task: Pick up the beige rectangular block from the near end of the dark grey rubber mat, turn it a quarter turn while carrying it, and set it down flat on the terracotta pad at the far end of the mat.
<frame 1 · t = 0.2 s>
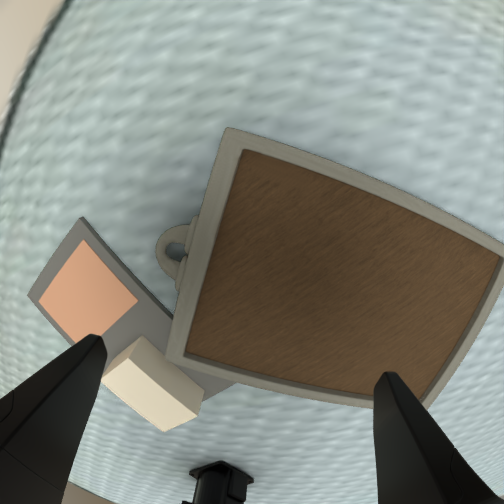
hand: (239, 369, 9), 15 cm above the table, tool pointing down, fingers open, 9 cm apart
mat: (122, 336, 27), on the table
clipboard: (342, 298, 24), on the table, touching mat
beige rectangular block: (157, 375, 27), point 1 cm above the table, touching mat
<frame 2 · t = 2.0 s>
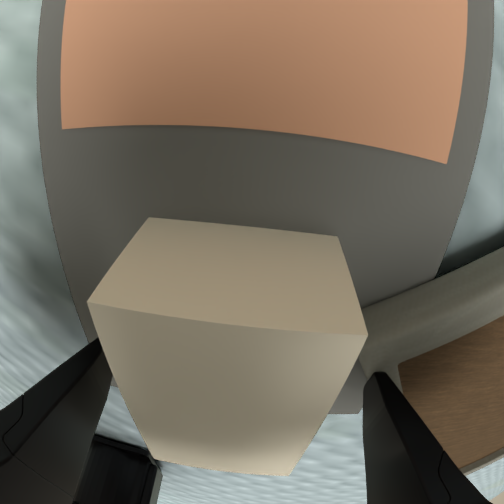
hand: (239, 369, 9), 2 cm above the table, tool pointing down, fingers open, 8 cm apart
mat: (246, 181, 8), on the table
beige rectangular block: (234, 334, 10), point 1 cm above the table, touching mat
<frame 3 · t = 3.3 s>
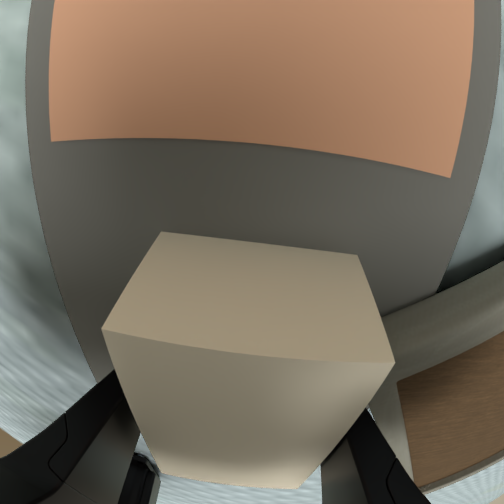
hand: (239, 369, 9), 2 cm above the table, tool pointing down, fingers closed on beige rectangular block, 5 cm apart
mat: (241, 195, 8), on the table
beige rectangular block: (245, 350, 10), point 1 cm above the table, touching gripper, mat
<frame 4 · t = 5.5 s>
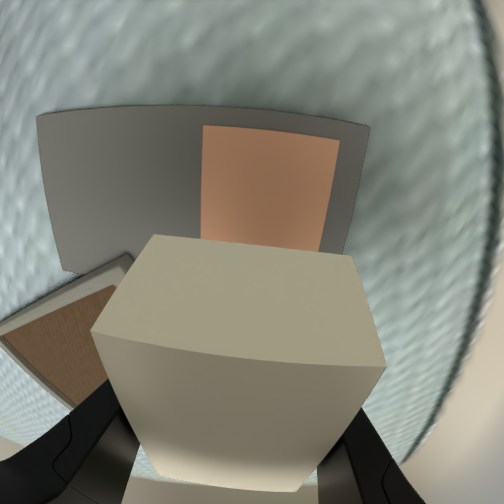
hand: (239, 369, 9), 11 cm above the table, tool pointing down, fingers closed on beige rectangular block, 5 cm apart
mat: (179, 205, 18), on the table
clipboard: (106, 363, 28), on the table, touching mat
beige rectangular block: (241, 353, 10), point 10 cm above the table, touching gripper
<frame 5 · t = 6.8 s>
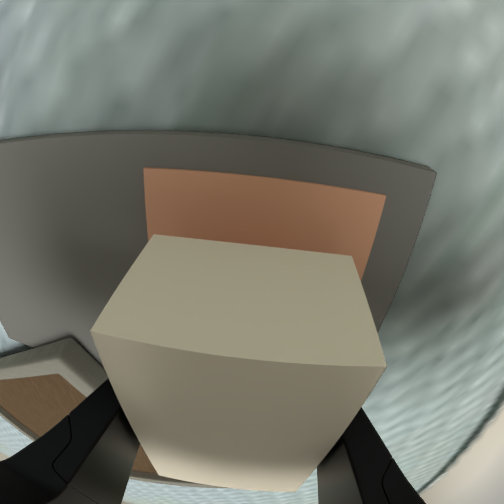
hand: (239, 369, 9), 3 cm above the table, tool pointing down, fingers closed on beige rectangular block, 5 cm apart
mat: (126, 283, 12), on the table
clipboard: (78, 424, 21), on the table, touching mat
beige rectangular block: (241, 353, 10), point 2 cm above the table, touching gripper
when the fingers open (3 cm above the table, at t = 7.7 s): beige rectangular block drops 1 cm, resting on mat.
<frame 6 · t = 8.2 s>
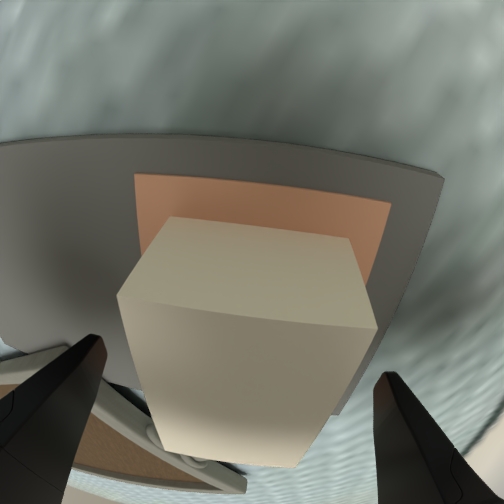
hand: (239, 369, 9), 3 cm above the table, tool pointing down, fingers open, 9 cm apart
mat: (120, 292, 11), on the table
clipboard: (76, 429, 21), on the table, touching mat
beige rectangular block: (246, 330, 11), point 1 cm above the table, touching mat
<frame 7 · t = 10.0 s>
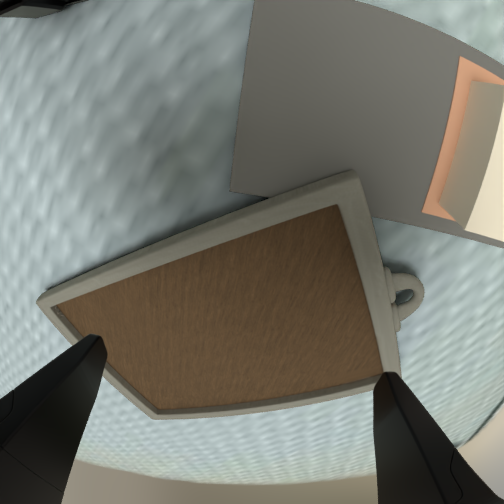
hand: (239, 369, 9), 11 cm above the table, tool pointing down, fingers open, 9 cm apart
mat: (418, 124, 15), on the table
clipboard: (229, 335, 24), on the table, touching mat
beige rectangular block: (486, 155, 14), point 1 cm above the table, touching mat
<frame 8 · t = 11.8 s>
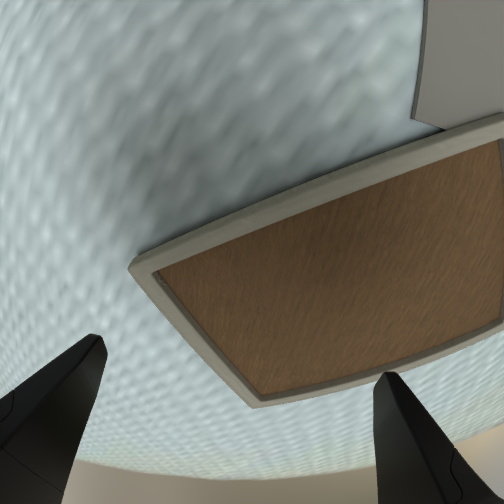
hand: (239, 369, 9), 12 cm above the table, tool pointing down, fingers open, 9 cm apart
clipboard: (378, 286, 21), on the table, touching mat
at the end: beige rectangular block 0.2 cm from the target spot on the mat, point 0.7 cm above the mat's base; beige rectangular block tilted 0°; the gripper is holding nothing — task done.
